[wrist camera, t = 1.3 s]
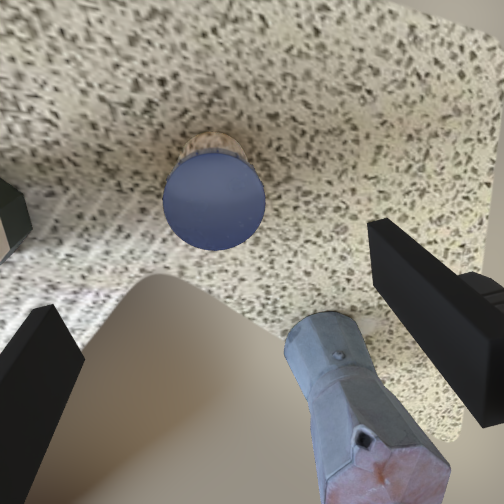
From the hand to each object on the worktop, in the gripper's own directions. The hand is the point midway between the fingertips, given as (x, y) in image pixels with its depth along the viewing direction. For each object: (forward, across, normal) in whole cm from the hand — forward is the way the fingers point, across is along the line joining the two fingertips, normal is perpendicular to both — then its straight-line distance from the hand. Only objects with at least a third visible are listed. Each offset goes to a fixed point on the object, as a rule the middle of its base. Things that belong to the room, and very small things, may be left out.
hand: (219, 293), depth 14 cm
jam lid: (+11, 0, 0) cm, 11 cm away
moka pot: (+20, +7, -22) cm, 31 cm away
